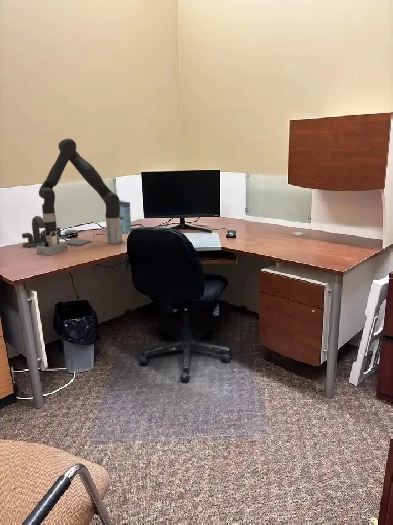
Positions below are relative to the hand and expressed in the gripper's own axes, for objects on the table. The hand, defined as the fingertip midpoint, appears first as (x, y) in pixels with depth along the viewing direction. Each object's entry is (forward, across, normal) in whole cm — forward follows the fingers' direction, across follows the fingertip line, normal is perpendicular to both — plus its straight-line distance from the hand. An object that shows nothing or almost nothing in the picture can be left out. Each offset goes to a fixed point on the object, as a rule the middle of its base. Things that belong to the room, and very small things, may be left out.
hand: (52, 245), depth 261 cm
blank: (+4, 0, 0) cm, 4 cm away
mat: (+4, +22, 0) cm, 22 cm away
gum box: (+4, +64, -7) cm, 65 cm away
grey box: (+4, 0, 0) cm, 4 cm away
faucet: (+4, +7, +18) cm, 20 cm away
